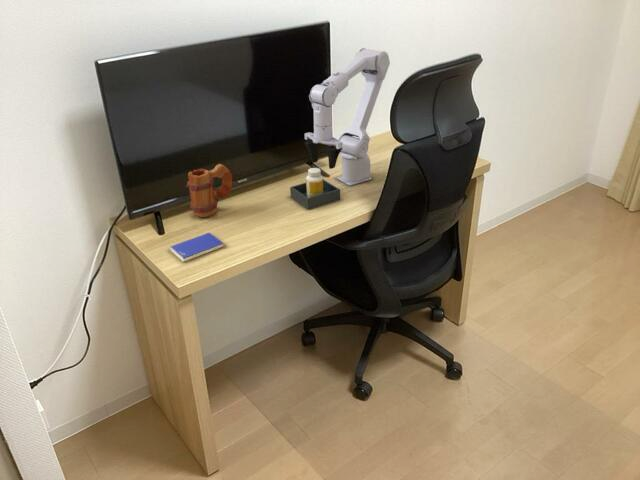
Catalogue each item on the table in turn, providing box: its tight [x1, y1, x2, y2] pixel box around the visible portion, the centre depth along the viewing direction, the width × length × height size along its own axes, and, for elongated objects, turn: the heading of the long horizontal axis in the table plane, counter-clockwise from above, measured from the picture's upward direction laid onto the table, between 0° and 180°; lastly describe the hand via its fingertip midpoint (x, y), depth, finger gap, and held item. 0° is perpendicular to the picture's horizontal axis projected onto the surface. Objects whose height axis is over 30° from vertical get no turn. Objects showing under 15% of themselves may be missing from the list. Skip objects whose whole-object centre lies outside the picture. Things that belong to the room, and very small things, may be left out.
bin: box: [289, 178, 341, 210], centre depth 188 cm, size 12×11×4 cm
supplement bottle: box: [305, 167, 324, 198], centre depth 187 cm, size 5×5×10 cm
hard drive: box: [169, 232, 224, 262], centre depth 163 cm, size 2×8×12 cm
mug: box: [185, 163, 233, 218], centre depth 180 cm, size 15×8×15 cm, turn 117°
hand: (323, 164), depth 187 cm, fingers open, 7 cm apart
